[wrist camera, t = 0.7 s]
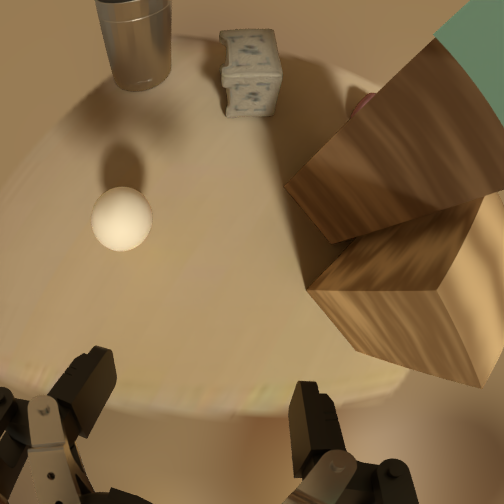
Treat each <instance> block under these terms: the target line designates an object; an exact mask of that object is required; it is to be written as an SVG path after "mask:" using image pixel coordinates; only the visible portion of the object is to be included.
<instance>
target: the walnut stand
mask: <svg viewBox="0 0 504 504" xmlns="http://www.w3.org/2000/svg"><path fill="white" fill-rule="evenodd" d="M284 188H285V189H286V190H287V192H288V193H289V194H290V195H291V196H292V197H293V199H294V200H295V201H296V202H297V203H298V204H299V206H300V207H301V208H302V209H303V210H304V212H305V213H306V214H307V215H308V216H309V218H310V219H311V220H312V221H313V222H314V224H315V225H316V226H317V227H318V229H319V230H320V231H321V232H322V234H323V235H324V236H325V237H326V238H327V240H328V241H329V242H330V244H334V243H337V242H341V241H344V240H347V239H351V238H354V237H357V236H360V235H364V234H367V233H370V232H373V231H377V230H380V229H383V228H386V227H390V226H393V225H396V224H399V223H402V222H406V221H409V220H412V219H415V218H418V217H421V216H425V215H428V214H431V213H434V212H437V211H440V210H443V209H446V208H449V207H453V206H456V205H459V204H462V203H465V202H468V201H471V200H474V199H477V198H480V197H483V196H486V195H489V194H492V193H495V192H498V191H501V190H504V127H503V125H502V124H501V122H500V120H499V119H498V117H497V115H496V114H495V112H494V111H493V109H492V107H491V106H490V104H489V103H488V101H487V100H486V99H485V97H484V96H483V94H482V93H481V91H480V90H479V89H478V87H477V86H476V84H475V83H474V82H473V80H472V79H471V78H470V77H469V75H468V74H467V73H466V71H465V70H464V69H463V68H462V66H461V65H460V64H459V63H458V62H457V60H456V59H455V58H454V57H453V56H452V55H451V53H450V52H449V51H448V50H447V49H446V48H445V47H444V46H443V45H442V44H441V42H440V41H439V40H438V39H437V38H436V37H435V38H434V39H433V40H432V41H431V42H430V43H429V44H428V45H427V46H426V47H425V48H424V49H423V50H422V51H420V53H418V54H417V55H416V56H415V57H414V58H413V59H412V60H411V61H410V62H409V63H408V64H407V65H406V66H405V67H404V68H402V69H401V70H400V71H399V72H398V73H397V74H396V75H395V76H394V77H393V78H392V79H391V80H390V81H389V82H388V83H387V84H386V85H385V86H384V87H383V88H382V89H381V90H380V91H379V92H378V93H376V94H375V95H374V96H373V97H372V98H371V99H370V100H369V101H368V102H367V103H366V104H365V105H364V106H363V107H362V108H361V109H360V110H359V111H358V112H357V113H356V114H355V115H354V116H353V117H352V118H351V119H350V120H349V121H348V122H347V123H346V124H345V125H344V126H343V127H342V128H341V129H340V130H339V131H338V132H337V133H336V134H335V135H334V136H333V137H332V138H331V139H330V140H329V141H328V142H327V143H326V144H325V145H324V146H323V147H322V148H321V149H320V150H319V151H318V152H317V153H316V154H315V155H314V156H313V157H312V158H311V159H310V160H309V161H308V162H307V163H306V164H305V165H304V166H303V167H302V168H301V170H300V171H299V172H298V173H297V174H296V175H295V176H294V177H293V178H292V179H291V180H290V181H289V182H288V183H287V184H286V185H285V186H284Z"/></svg>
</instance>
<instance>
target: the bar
mask: <svg viewBox="0 0 504 504" xmlns="http://www.w3.org/2000/svg"><path fill="white" fill-rule="evenodd" d="M433 35H434V36H435V37H436V38H437V39H438V40H439V41H440V42H441V44H442V45H443V46H444V47H445V48H446V49H447V50H448V51H449V52H450V53H451V55H452V56H453V57H454V58H455V59H456V60H457V62H458V63H459V64H460V65H461V66H462V68H463V69H464V70H465V71H466V73H467V74H468V75H469V77H470V78H471V79H472V80H473V82H474V83H475V84H476V86H477V87H478V89H479V90H480V91H481V93H482V94H483V96H484V97H485V99H486V100H487V101H488V103H489V104H490V106H491V107H492V109H493V111H494V112H495V114H496V115H497V117H498V119H499V120H500V122H501V124H502V125H503V127H504V0H470V1H469V2H468V3H467V4H466V5H465V6H463V7H462V8H461V9H460V10H459V11H458V12H457V13H456V14H455V15H454V16H453V17H452V18H450V19H449V20H448V21H447V22H446V23H445V24H444V25H443V26H442V27H441V28H440V29H439V30H438V31H436V32H435V33H434V34H433Z"/></svg>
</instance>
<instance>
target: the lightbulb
mask: <svg viewBox="0 0 504 504" xmlns="http://www.w3.org/2000/svg"><path fill="white" fill-rule="evenodd" d="M152 220H153V217H152V210H151V207H150V204H149V202H148V200H147V199H146V198H145V196H144V195H143V194H141V193H140V192H139V191H137V190H135V189H133V188H130V187H115V188H112V189H110V190H108V191H106V192H105V193H103V194H102V195H101V196H100V197H99V198H98V200H97V201H96V203H95V205H94V207H93V210H92V215H91V225H92V229H93V232H94V234H95V236H96V238H97V239H98V241H99V242H100V243H101V244H102V245H104V246H105V247H107V248H109V249H112V250H115V251H127V250H130V249H133V248H135V247H137V246H138V245H139V244H141V243H142V242H143V241H144V240H145V238H146V237H147V235H148V234H149V232H150V229H151V226H152Z"/></svg>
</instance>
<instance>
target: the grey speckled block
mask: <svg viewBox="0 0 504 504" xmlns="http://www.w3.org/2000/svg"><path fill="white" fill-rule="evenodd" d="M219 40H220V43H221V44H223V45H225V46H226V60H225V63H224V64H222V65H221V66H220V74H221V83H222V86H223V87H225V88H226V94H227V101H228V104H227V107H226V111H225V113H226V117H227V118H236V117H250V116H273V114H274V112H275V106H276V102H277V98H278V94H279V91H280V86H281V83H282V78H283V71H282V67H281V62H280V58H279V54H278V50H277V45H276V39H275V34H274V30H272V29H239V30H238V29H236V30H227V31H220V35H219Z"/></svg>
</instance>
